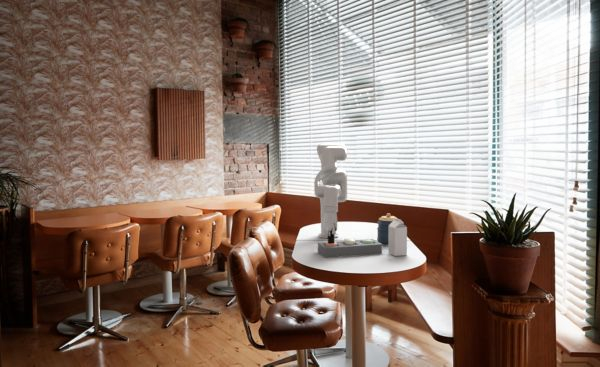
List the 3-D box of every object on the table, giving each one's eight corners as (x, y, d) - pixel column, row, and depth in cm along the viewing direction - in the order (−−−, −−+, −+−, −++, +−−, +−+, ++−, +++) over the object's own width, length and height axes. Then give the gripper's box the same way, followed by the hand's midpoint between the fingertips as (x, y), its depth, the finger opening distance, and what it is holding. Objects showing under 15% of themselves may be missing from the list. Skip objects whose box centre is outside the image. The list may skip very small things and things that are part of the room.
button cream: (342, 243, 230) (342, 238, 230) (352, 243, 232) (352, 238, 231) (346, 246, 224) (346, 241, 224) (356, 245, 226) (356, 240, 225)
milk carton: (394, 256, 219) (394, 220, 217) (388, 253, 226) (388, 218, 224) (406, 255, 221) (407, 219, 219) (400, 252, 228) (400, 217, 226)
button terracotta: (324, 247, 228) (324, 242, 228) (334, 246, 229) (334, 241, 229) (327, 249, 222) (327, 244, 222) (338, 248, 223) (338, 243, 223)
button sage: (360, 244, 233) (360, 239, 232) (370, 243, 234) (370, 238, 234) (364, 246, 227) (364, 242, 227) (375, 246, 228) (375, 241, 228)
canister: (399, 245, 243) (400, 215, 241) (376, 244, 245) (377, 214, 244) (399, 240, 255) (399, 211, 254) (377, 239, 258) (377, 211, 256)
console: (317, 251, 231) (317, 242, 230) (372, 247, 238) (372, 238, 238) (324, 257, 218) (324, 248, 218) (382, 253, 226) (382, 244, 225)
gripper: (320, 207, 230) (320, 240, 232) (328, 211, 215) (328, 246, 217) (333, 206, 232) (333, 239, 233) (342, 210, 217) (342, 245, 219)
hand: (331, 243), depth 225 cm, fingers closed
